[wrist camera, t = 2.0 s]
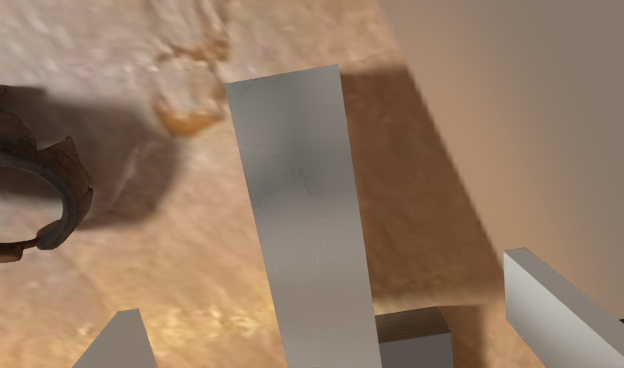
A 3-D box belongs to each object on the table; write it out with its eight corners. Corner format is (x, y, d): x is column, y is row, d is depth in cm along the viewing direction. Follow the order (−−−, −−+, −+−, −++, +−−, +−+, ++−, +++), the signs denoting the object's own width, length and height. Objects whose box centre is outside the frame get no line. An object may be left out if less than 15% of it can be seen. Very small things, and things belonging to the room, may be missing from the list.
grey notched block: (260, 79, 24) (224, 84, 14) (323, 68, 24) (338, 64, 13) (304, 302, 28) (303, 438, 18) (358, 294, 28) (390, 426, 18)
